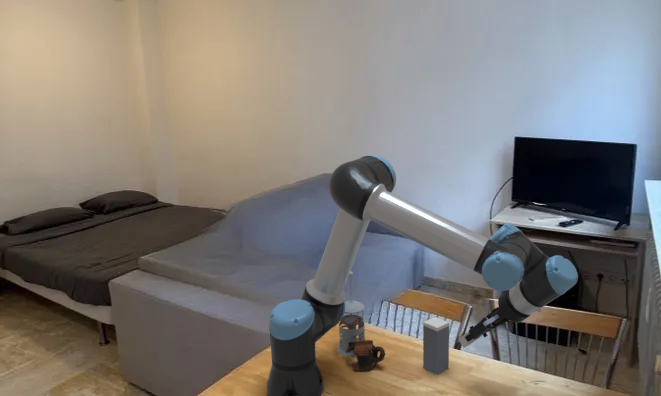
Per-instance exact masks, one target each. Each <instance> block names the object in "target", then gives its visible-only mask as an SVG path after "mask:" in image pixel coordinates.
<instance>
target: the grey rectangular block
mask: <svg viewBox="0 0 661 396" xmlns="http://www.w3.org/2000/svg"><path fill="white" fill-rule="evenodd" d="M422 328H423V330H422V333H423V334H422V335H423V337H422V339H423V340H422V345H423V347H422V349H423V350H422V351H423V352H422V353H423V354H422V356H423V357H422V358H423V359H422V361H423V363H422V366H423V368H422V369H424V370H427V371H429V372H430V373H433V374H435V375H437V376H438V375H439V374H441V373H443V372H445V371H446V370H447V371H448V369H450V367H449V366H450V365H449V363H450V361H449V359H450V357H449V355H450V354H449V353H450V322H449V321H447V320H443V319H441V318H439V317H436V316H434V317H432V318H430V319H427V320H425V321H423V323H422Z"/></svg>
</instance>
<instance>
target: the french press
mask: <svg viewBox="0 0 661 396" xmlns="http://www.w3.org/2000/svg"><path fill="white" fill-rule="evenodd" d="M348 277H349V288H350V292H349V293H350V295H352V281H351V279H352V277H354V272H353V271H352V270H351V271H350V273H349V276H348ZM344 302H345V312H344V315H343V317H342V319H341V320H340V322H339V323H338V331H339V344H338V345H337V346H336V351H338V352H337V353H339V354H340V355H342V354H343V355H342V356H344V355H346V356H345V357H351V356H353V357H356V355H355V354H354V353H353V350H352V351H350V353H348V352H347V353H346V351H347V348H348V347H349V344H348V343H349V342H354V341H364V340H366V338H365V337H366V331H365V329H366V327H365V322H364V310H365V308H366V307H365V304H363V303H362V302H360V301H357V300H346V301H344ZM359 313H361V314H362V316H361V315H360V314H359ZM345 314H346V315H345Z"/></svg>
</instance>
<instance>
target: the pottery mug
mask: <svg viewBox="0 0 661 396" xmlns="http://www.w3.org/2000/svg"><path fill="white" fill-rule="evenodd" d="M348 344H349V347H348V348H347V351H346V353H347V352H348V353H350V351H352V350H353V353H354V354H355V355H356V356H355V357H356V359H357V361H356V362H352V363H351V365H352V370H353V371H355V372H357V371H372V370H373V369H374V368H373V367H374V365H375V366H377V365H378V363H380V362H382V361H383V360H384V359H385V356H386V351H385V349H384V348H383V346H376V345H374V341H373V340H370V339H365V340H364V341H354V342H349V343H348Z"/></svg>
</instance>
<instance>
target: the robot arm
mask: <svg viewBox="0 0 661 396" xmlns="http://www.w3.org/2000/svg"><path fill="white" fill-rule="evenodd" d="M396 183H397V175H396V171H395V169H394V167H393V165H392V164H391V163H390V162H389V160H387V159H386V158H385V157H382V156H380V155H373V154H372V155H364V156H361V157H359V158H356V159H353V160H351V161H350V160H349V161H346V162H344V163H342V164H341V165H338V167H336V168H335V169H334V171H333V172H332V173H331V176H330V179H329V184H328V186H329V187H328V189H329V194H330V196H331V199H332V201H333V202H334V204H336V205H337V207H339V209H338V212H337V215H336V217H335V220H334V223H333V225H332V228H331V231H330V234H329V236H328V239H327V243H326V246H325V248H324V251H323V254H322V256H321V258H320V259H321V260H319V261H320V262H319V264H318V267H317V270H316V273H315V275H314V278H312V279H310V280H308V281H307V282H306V284H305V287H304V289H303V290H304V291H303V293H302V295H301V298H300V299H298V298H297V299H294V298H293V299H289V300H288V301H282V302H280V303H278V304H277V305H275V306H274V307H273V308H272V310H271V311H270V314H269V322H268V329H269V339H270V353H271V367H270V369H269V376H268V378H267V382H266V392H267V396H321V395H322V394H323V393H324V389H325V387H324V378H323V375H322V373H321V371H320V368H319V365H318V362H317V359H316V353H317V352H316V343H317V342H318V341H319V340H320V339H321V338H323V336H325V335H326V334H327V333H328V332H329V331H330V330H332V329H334V328H335V327H336V326H337V325H339V323H340V320H341V319H342V317H343V316H345V313H344V312H345V300H346V293H345V292H346V291H344V288H345V287H346V283H347V281H348V277H350V276H349V273H350V271H351V272H352V267H353V266H354V263H355V260H356V258H357V254H358V252H359V249H360V248H361V245H362V242H363V240H364V237H365V234H366V232H367V229H368V227H369V224H370V222H371V221H373V222H375V223H376V224H378V225H380V226H382V227H385V228H386V229H388V230H390V231H393V232H395V233H396V234H398V235H401V236H402V237H405V238H407V239H408V240H410V241H413V242H414V243H417V244H419V245H421V246H422V247H425V248H427V249H429V250H431V251H433V252H434V253H436V254H439V255H441V256H443V257H445V258H447V259H449V260H451V261H453V262H455V263H456V264H459V265H462V266H464V268H467V269H469V270H471V271H473V272H476V273H477V274H479V275H480V276H481V277H482V279H483V281H484V282H485V284H486V285H487V286H488V287H490V288H491V289H493V290H495V291H498V292H503V293H502V294H501V295H500V296H499V297H498V300H497V305H498V306H496V307H495V308H494V309H492V310H491V312H490V313H489V314H487V315H486V316H485V317H483V318H482V319H481V320H480V321H479V322H478V323H477V324H475V325H471V326H469V329H468V331H467V332H466V333H465V334H463V335H461V337H459V338H458V339H457V340H458V342H459V343H460V345H461V346H462V348H463V349H465V348H468V346H470V345H472V344H473V343H474V342H476V341H477V340H479V339H480V338H482V337H483V338H486V337H488V336H489V335H488V334H487V333H488V332H492V330H494V329H496V328H497V327H500V326H501V325H503V324H505V323H507V322H509V321H510V322H512V323H517V324H518V323H522V322H523V321H525V320H526V319H527V318H529V317H530V316H531V315H533V314H535V313H536V312H537V313H542V308H543V307H545V306H547V305H548V304H549V303H551V302H553V301H554V300H555V299H558V298H559V297H560V296H562V295H563V296H564V294H565V293H566V292H567V291H570V289H572V288H573V287H574V286H575V285H576V284H577V282H578V279H579V275H578V272H577V269H576V267H575V266H574V264H573V263H572V261H570V260H569V259H567V258H564V256H562V255H557V254H556V255H553V256H551V257H549V256H548V255H547V254H546V253H544V252H543V251H542V250H541V249H540V248H539V247H538V246H537V245H536V244H535V243H534V242H533V241H532V240H531V239H530V238H528V236H527V235H525V234H524V233H523V231H522V230H520V228H518V227H516V226H515V225H514V224H513V223H512V222H506V223H504V224H503V225H502V226H501V227H500V228H499V229H497V231H495V232H494V234H492V235H491V236H490V238H489V237H488V238H487V237H486V236H484V235H481V234H480V233H478V232H475V231H473V230H471V229H468V228H466V227H464V226H463V225H460V224H458V223H457V222H453V221H452V220H449V219H448V218H445V217H443V216H442V215H439V214H437V213H436V212H435V213H434V212H433V211H431V210H429V209H426V208H424V207H422V206H420V205H418V204H415V202H414V203H413V202H411V201H409V200H408V199H405V198H402V197H401V196H398V195H396V194H394V193H393V191H394V189H395V187H396V185H397V184H396Z"/></svg>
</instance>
